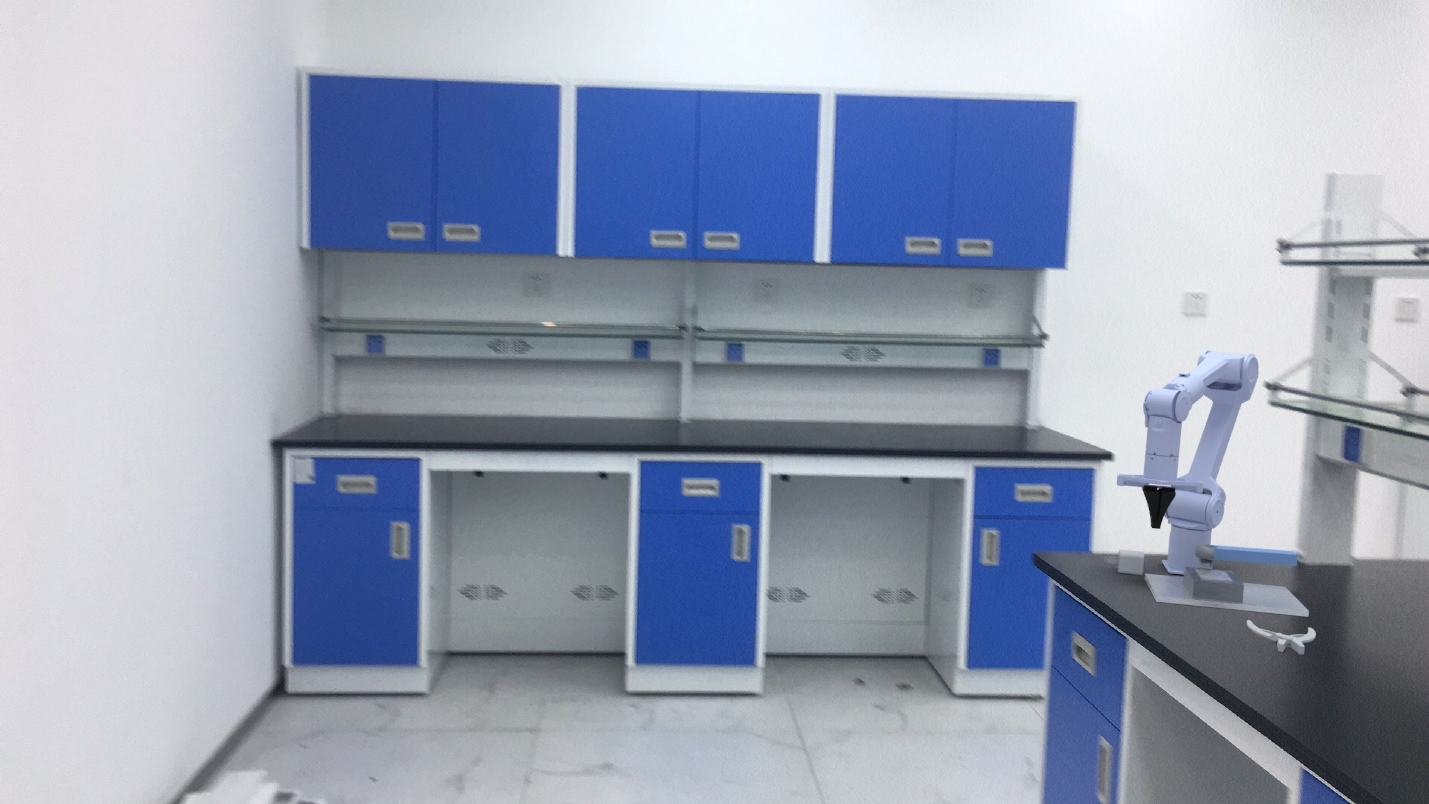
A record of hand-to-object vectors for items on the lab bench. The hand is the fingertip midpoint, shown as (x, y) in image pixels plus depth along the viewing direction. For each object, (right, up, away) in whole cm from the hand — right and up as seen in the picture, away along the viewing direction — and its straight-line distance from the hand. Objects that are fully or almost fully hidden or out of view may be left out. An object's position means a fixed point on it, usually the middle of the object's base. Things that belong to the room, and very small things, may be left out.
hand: (1155, 527), depth 204 cm
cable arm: (+16, -6, -2) cm, 17 cm away
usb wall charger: (-3, -10, +9) cm, 14 cm away
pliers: (+8, -15, -30) cm, 34 cm away
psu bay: (+9, -12, -7) cm, 16 cm away
